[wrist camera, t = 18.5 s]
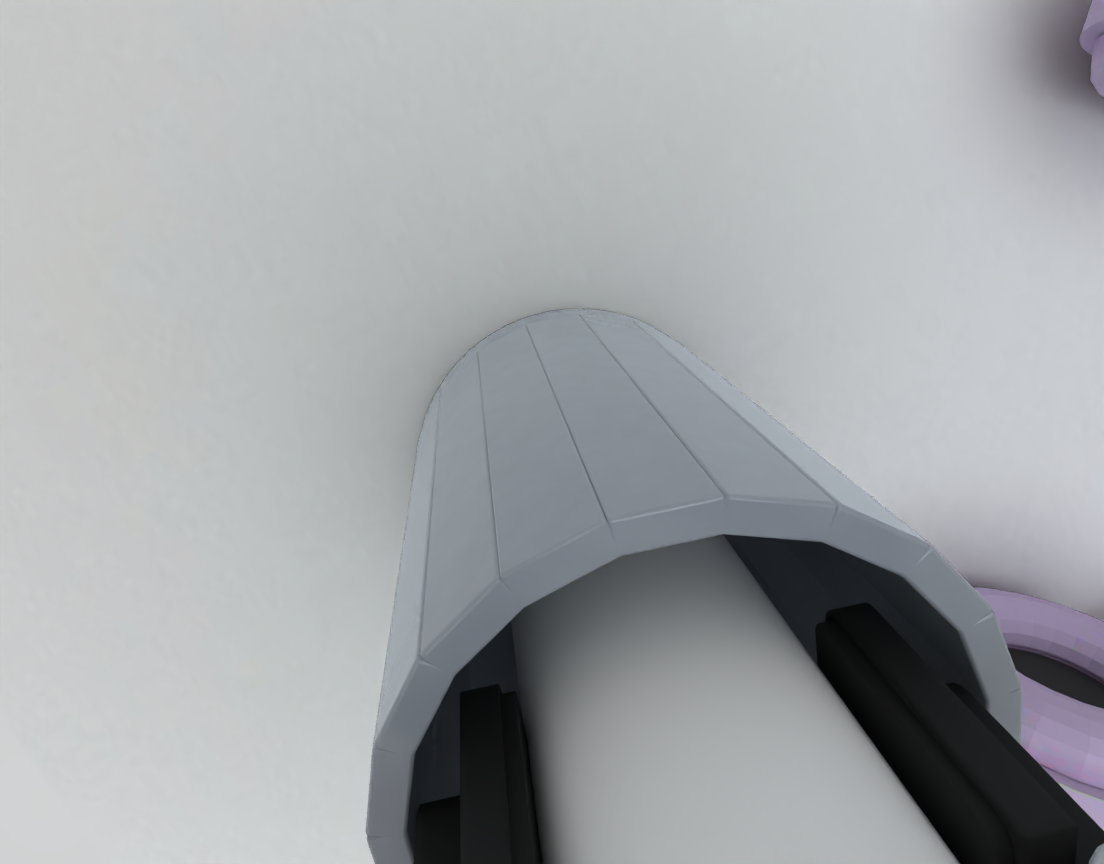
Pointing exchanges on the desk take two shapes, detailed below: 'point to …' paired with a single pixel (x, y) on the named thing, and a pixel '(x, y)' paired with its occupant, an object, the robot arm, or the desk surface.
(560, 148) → the desk surface
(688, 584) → the tube
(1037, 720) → the headphones
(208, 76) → the desk surface
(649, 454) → the pen holder
